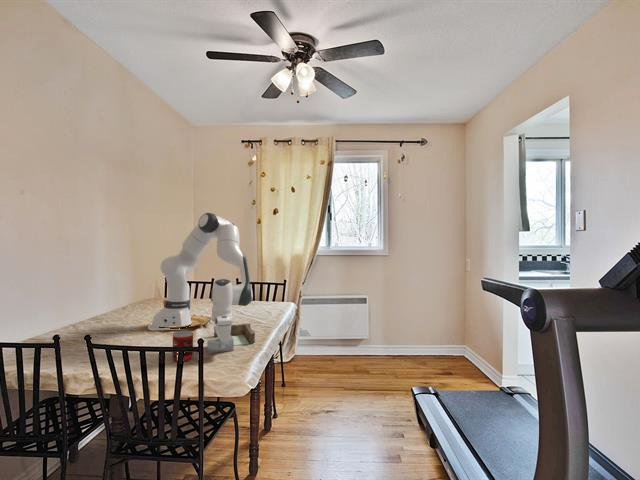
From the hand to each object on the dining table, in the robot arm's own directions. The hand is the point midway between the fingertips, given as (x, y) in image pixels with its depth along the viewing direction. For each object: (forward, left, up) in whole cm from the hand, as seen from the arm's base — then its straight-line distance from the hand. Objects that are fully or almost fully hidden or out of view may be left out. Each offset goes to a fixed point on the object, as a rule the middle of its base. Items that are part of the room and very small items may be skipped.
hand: (221, 347), depth 162 cm
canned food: (-16, -5, -2) cm, 17 cm away
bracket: (0, +2, -2) cm, 3 cm away
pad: (+7, +12, -2) cm, 14 cm away
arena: (+9, +14, -2) cm, 17 cm away
